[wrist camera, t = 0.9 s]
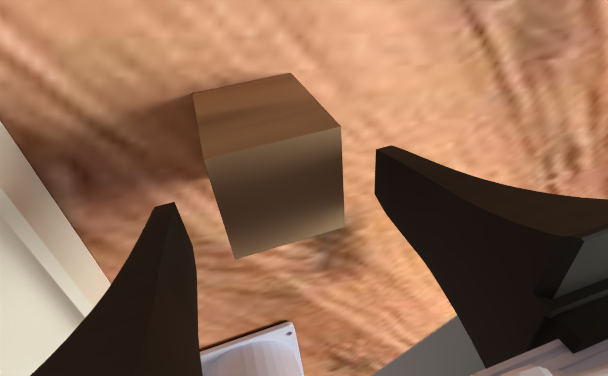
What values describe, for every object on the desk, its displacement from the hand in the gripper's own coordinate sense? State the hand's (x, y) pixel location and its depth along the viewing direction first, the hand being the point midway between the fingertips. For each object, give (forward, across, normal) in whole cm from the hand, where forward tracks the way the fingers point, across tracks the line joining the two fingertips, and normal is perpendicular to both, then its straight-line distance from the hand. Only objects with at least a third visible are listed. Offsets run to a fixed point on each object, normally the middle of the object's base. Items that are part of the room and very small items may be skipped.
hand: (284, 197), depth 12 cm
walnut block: (+6, 0, 0) cm, 6 cm away
